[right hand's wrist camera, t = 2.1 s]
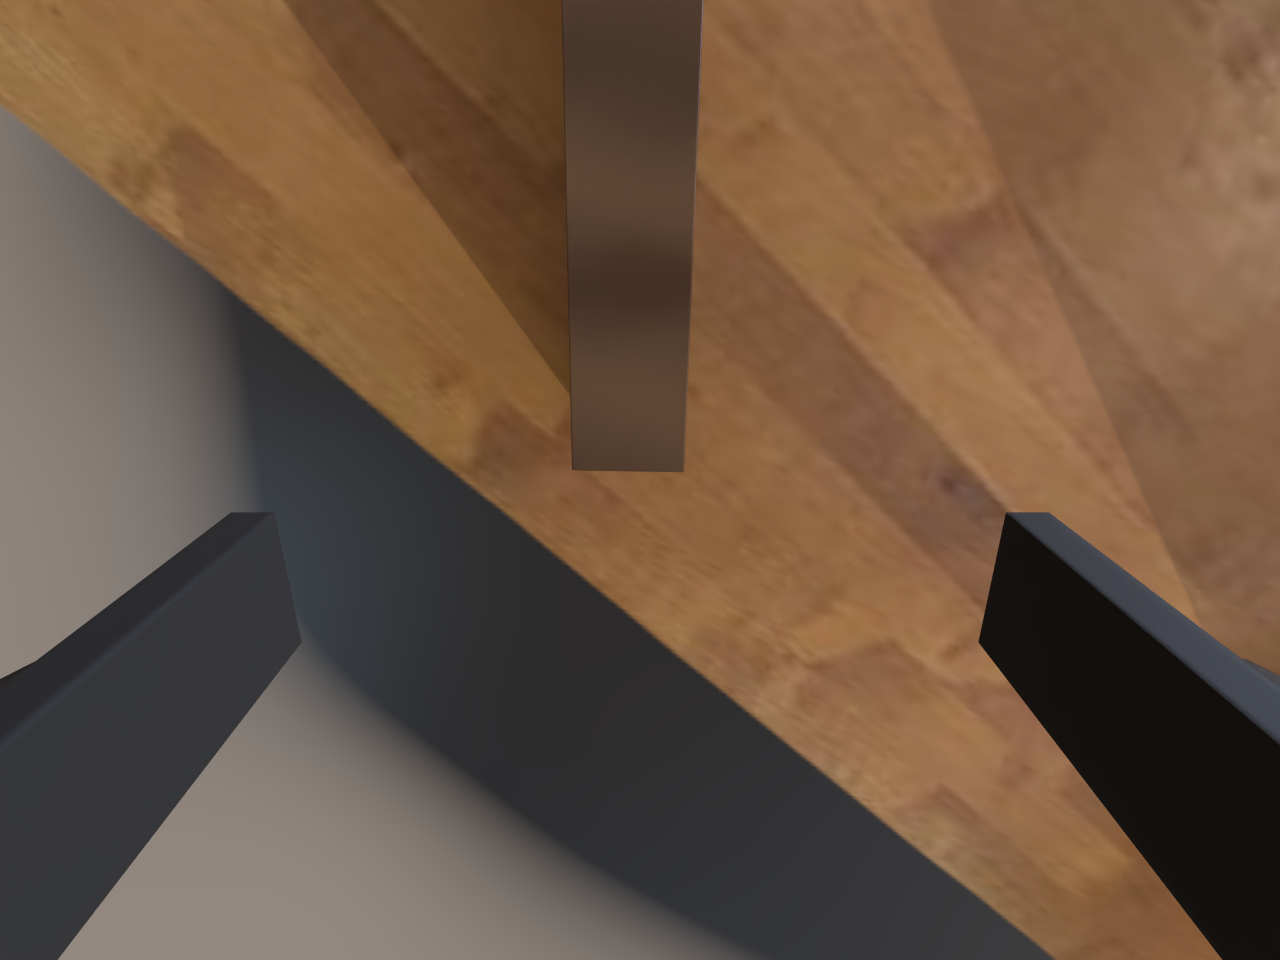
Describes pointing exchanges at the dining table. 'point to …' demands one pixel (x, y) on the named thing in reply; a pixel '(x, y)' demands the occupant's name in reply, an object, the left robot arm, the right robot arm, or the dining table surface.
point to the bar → (630, 226)
